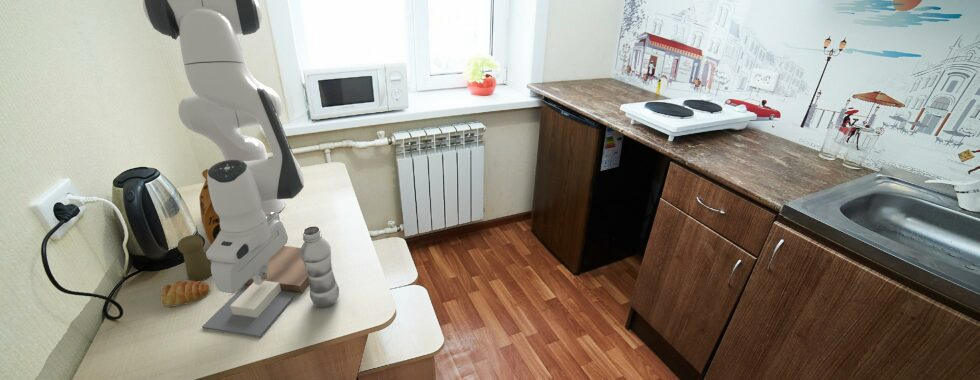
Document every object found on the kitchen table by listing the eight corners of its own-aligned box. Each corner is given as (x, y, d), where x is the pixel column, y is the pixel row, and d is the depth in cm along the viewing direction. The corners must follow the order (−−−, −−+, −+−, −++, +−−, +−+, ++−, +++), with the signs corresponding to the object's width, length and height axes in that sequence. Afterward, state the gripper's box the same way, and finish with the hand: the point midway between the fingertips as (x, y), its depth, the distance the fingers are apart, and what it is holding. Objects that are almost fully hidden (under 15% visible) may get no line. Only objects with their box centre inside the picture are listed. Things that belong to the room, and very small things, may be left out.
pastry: (214, 284, 103) (209, 272, 102) (207, 302, 98) (202, 290, 96) (170, 291, 101) (164, 279, 99) (160, 311, 95) (154, 298, 93)
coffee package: (210, 263, 110) (183, 191, 100) (211, 239, 120) (187, 171, 109) (252, 253, 114) (230, 182, 104) (250, 231, 124) (230, 164, 114)
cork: (202, 283, 103) (188, 247, 98) (182, 279, 104) (166, 244, 99) (221, 268, 108) (208, 233, 103) (201, 265, 110) (188, 230, 104)
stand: (242, 285, 103) (239, 277, 102) (277, 252, 115) (275, 244, 114) (301, 293, 101) (299, 285, 99) (330, 258, 113) (329, 251, 112)
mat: (202, 328, 91) (201, 326, 90) (244, 287, 102) (244, 285, 102) (260, 337, 89) (260, 335, 88) (296, 294, 100) (296, 292, 100)
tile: (232, 314, 94) (229, 305, 92) (258, 287, 101) (256, 279, 100) (257, 317, 93) (254, 309, 92) (281, 290, 101) (279, 282, 99)
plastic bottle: (310, 313, 95) (293, 241, 86) (313, 293, 101) (296, 224, 91) (340, 308, 97) (326, 237, 87) (341, 289, 102) (327, 220, 93)
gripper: (264, 207, 101) (276, 252, 108) (198, 258, 83) (218, 309, 90) (287, 210, 100) (299, 255, 107) (227, 262, 82) (245, 313, 89)
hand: (261, 280), depth 98 cm, fingers closed
